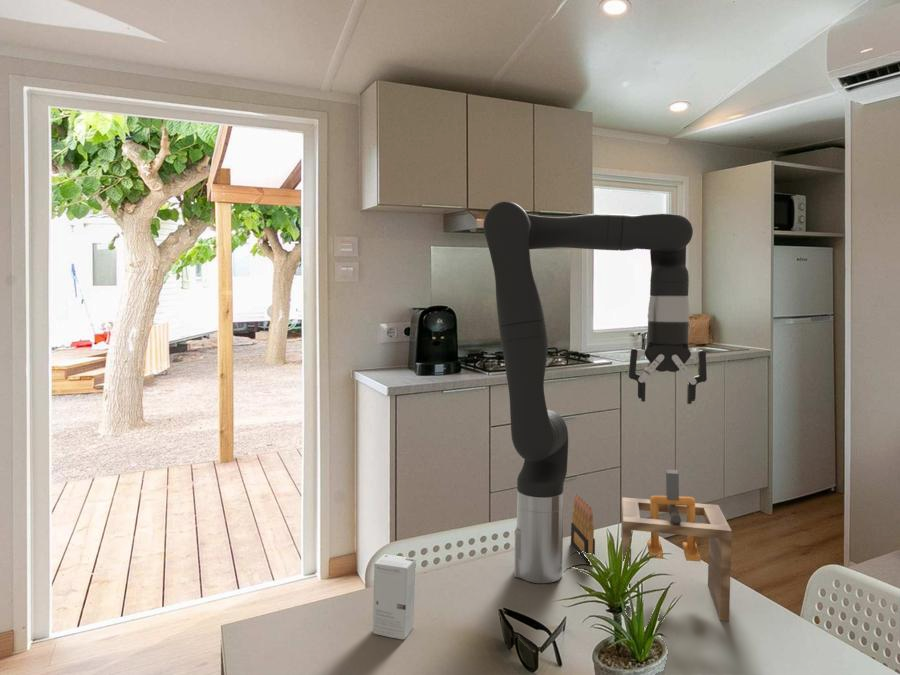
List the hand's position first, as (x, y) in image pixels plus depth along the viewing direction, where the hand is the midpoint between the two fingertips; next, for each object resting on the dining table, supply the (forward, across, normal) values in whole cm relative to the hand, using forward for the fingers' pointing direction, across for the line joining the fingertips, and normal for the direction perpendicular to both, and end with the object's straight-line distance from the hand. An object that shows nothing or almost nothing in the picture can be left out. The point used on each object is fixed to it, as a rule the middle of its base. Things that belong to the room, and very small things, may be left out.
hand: (666, 402), depth 120 cm
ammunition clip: (+36, -16, +9) cm, 40 cm away
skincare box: (+36, -44, -32) cm, 66 cm away
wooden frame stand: (+36, +1, -7) cm, 36 cm away
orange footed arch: (+27, +2, -7) cm, 28 cm away
